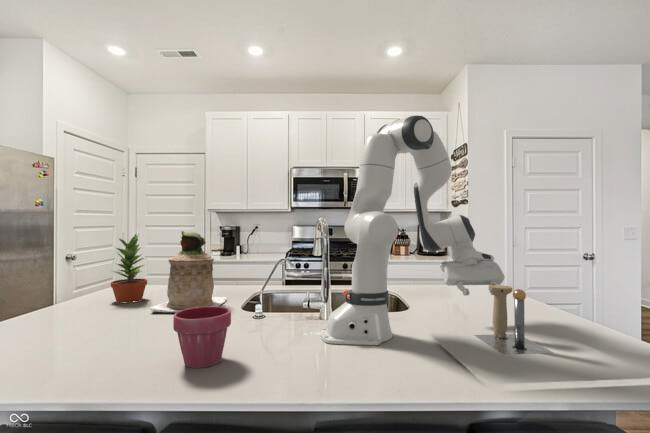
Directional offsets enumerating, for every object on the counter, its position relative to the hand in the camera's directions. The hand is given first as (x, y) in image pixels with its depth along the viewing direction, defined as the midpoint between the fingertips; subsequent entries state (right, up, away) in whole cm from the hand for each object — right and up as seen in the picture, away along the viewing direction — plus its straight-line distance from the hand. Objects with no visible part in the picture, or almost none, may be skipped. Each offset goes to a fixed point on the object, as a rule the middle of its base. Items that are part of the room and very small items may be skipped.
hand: (480, 294), depth 122 cm
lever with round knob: (+2, -10, -21) cm, 24 cm away
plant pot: (-83, -12, -27) cm, 88 cm away
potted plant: (-140, -12, +43) cm, 147 cm away
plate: (+1, -11, -17) cm, 21 cm away
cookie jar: (-108, -12, +33) cm, 113 cm away
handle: (+1, -10, -12) cm, 16 cm away
